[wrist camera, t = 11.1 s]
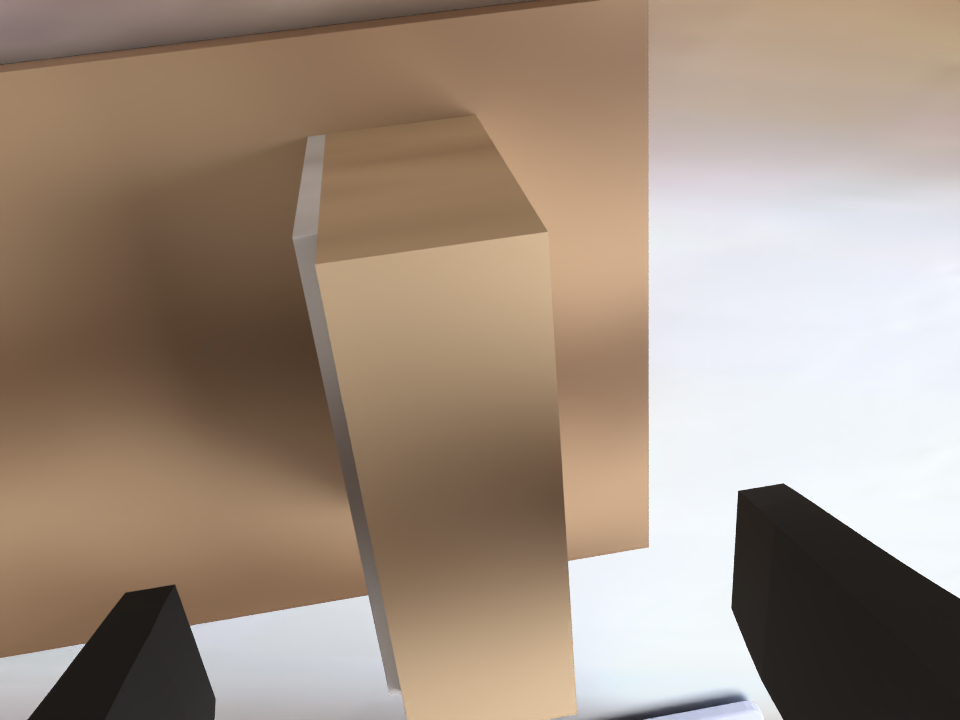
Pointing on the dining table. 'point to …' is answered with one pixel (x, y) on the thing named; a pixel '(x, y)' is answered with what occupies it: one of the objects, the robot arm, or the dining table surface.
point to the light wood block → (444, 412)
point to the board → (279, 298)
